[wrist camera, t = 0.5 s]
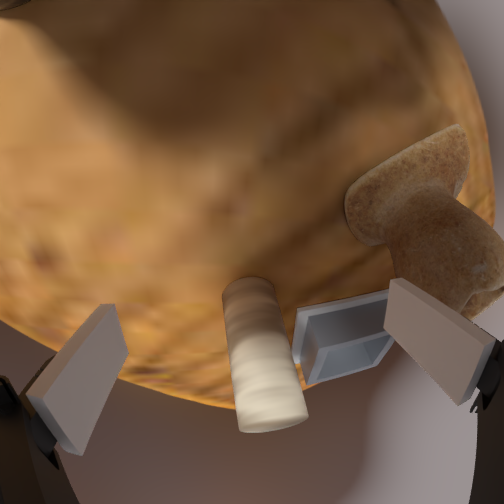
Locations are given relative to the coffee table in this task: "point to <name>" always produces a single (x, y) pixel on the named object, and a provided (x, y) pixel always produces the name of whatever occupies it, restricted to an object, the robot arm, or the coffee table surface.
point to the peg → (260, 358)
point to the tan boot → (430, 223)
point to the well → (341, 336)
